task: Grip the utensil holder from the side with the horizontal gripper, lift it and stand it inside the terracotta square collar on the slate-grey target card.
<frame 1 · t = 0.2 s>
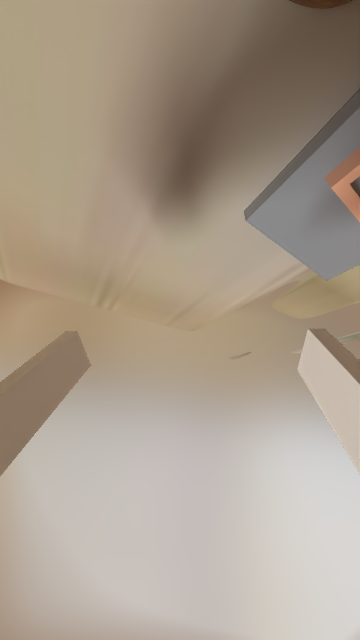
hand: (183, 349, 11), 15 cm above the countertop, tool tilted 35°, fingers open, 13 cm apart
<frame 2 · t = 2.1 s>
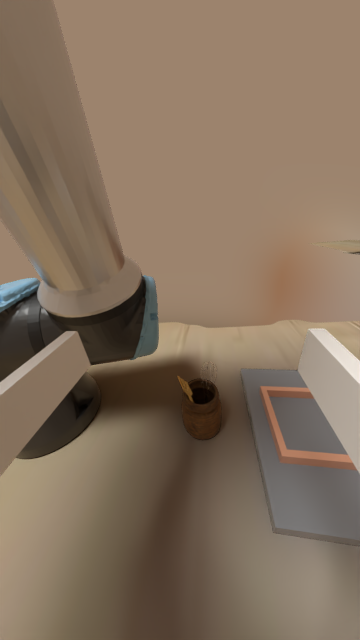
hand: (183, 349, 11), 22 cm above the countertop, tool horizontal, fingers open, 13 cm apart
utensil holder: (201, 423, 30), on the countertop
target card: (305, 430, 27), on the countertop
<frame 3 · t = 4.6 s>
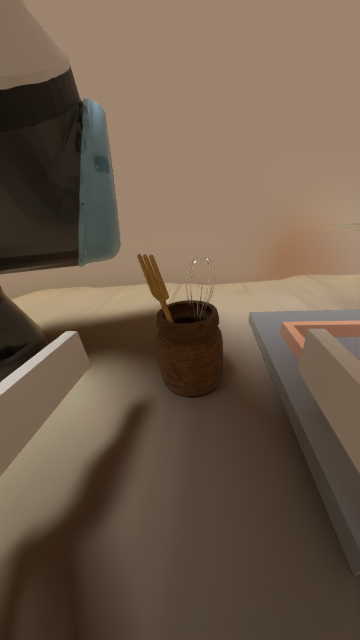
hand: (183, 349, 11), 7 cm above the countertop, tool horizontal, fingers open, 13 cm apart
utensil holder: (191, 376, 19), on the countertop
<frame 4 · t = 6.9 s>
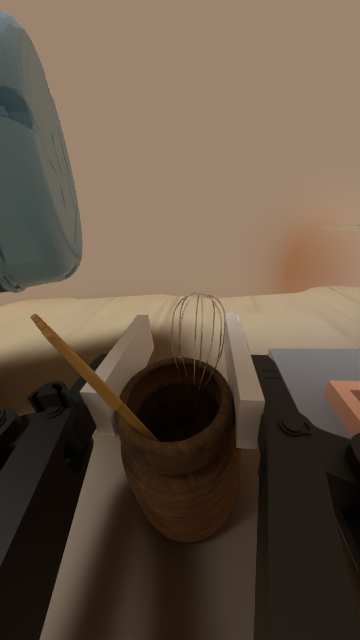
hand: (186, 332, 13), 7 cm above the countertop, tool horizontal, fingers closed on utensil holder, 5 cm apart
utensil holder: (186, 477, 11), on the countertop, touching gripper
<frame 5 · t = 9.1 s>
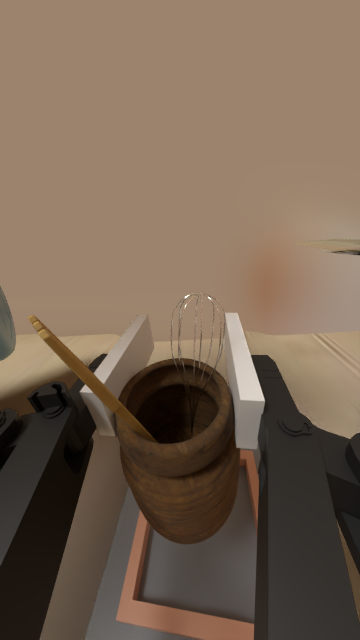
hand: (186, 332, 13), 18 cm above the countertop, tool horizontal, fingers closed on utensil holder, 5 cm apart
utensil holder: (186, 478, 11), point 11 cm above the countertop, touching gripper
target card: (202, 527, 17), on the countertop
when the fingers open (9 cm above the countertop, at t = 11.5 s): utensil holder stays where it is, resting on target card.
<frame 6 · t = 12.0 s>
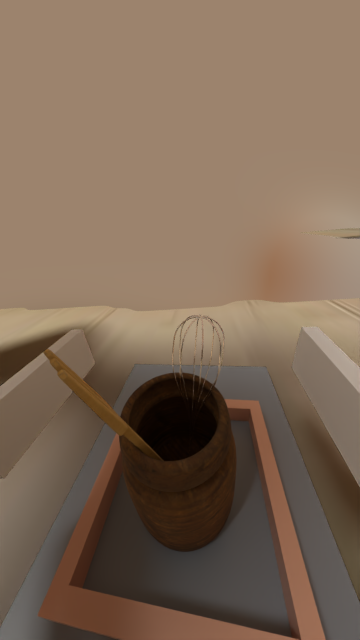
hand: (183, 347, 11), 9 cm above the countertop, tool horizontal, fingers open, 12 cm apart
utensil holder: (183, 486, 12), point 1 cm above the countertop, touching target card
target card: (189, 494, 12), on the countertop
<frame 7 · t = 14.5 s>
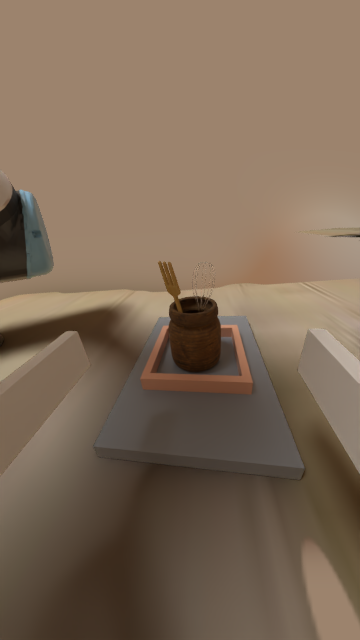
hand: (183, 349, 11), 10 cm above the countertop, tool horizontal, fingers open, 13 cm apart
utensil holder: (195, 358, 23), point 1 cm above the countertop, touching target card
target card: (198, 366, 23), on the countertop
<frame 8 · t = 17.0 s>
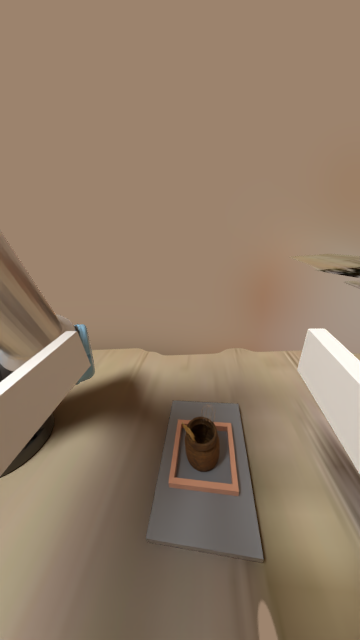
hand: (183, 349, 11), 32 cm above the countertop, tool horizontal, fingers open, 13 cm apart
utensil holder: (202, 455, 33), point 1 cm above the countertop, touching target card
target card: (203, 458, 34), on the countertop
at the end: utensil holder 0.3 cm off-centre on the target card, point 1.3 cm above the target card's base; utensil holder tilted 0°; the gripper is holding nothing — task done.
